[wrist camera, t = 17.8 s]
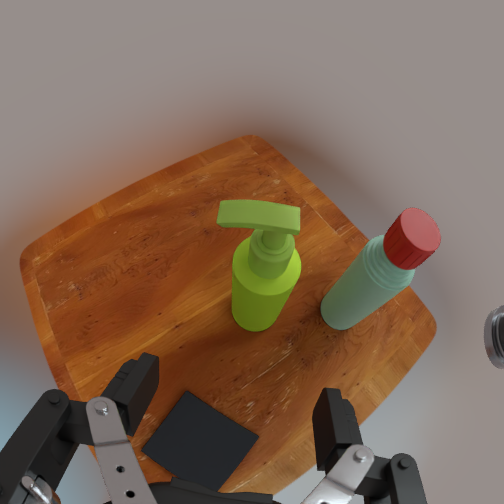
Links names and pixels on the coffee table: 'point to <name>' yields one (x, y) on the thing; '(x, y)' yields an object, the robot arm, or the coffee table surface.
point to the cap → (411, 239)
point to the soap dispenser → (262, 259)
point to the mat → (199, 443)
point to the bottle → (364, 287)
